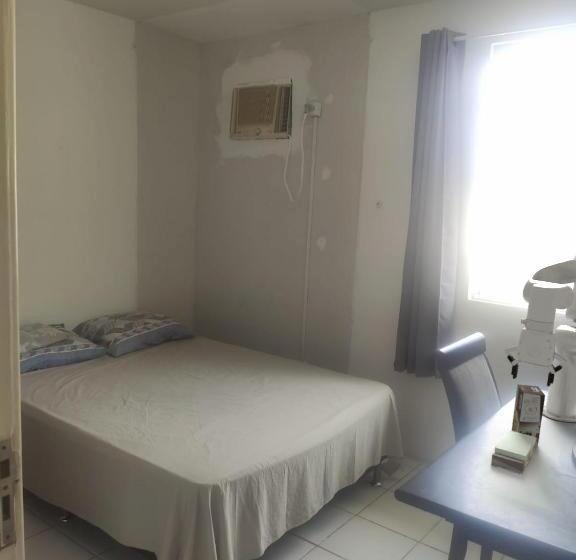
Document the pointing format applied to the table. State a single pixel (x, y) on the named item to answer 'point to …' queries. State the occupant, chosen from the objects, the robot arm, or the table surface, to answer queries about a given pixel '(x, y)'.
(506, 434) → the pale green tile
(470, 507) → the table surface
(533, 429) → the coffee box
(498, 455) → the grayish brown block
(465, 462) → the table surface
